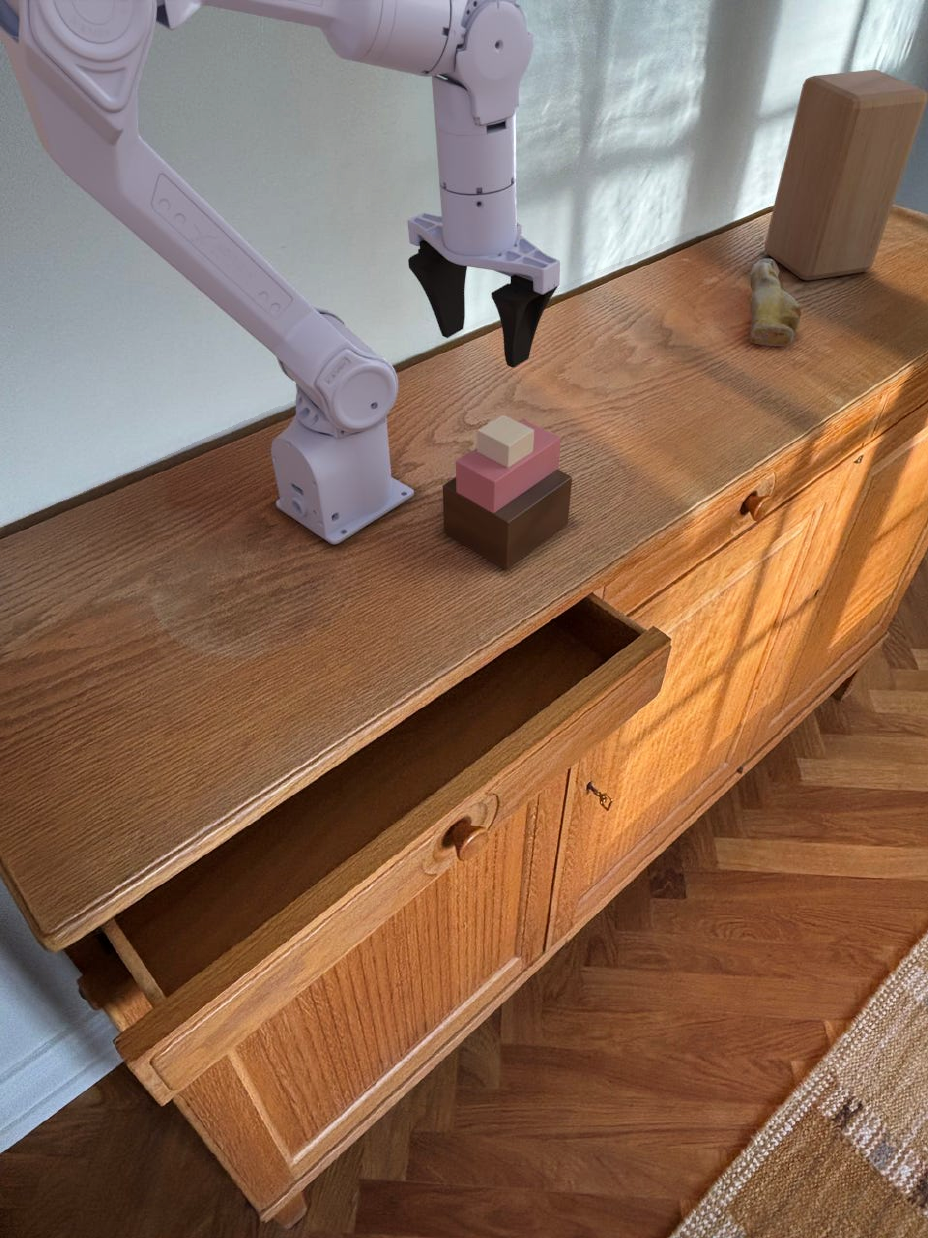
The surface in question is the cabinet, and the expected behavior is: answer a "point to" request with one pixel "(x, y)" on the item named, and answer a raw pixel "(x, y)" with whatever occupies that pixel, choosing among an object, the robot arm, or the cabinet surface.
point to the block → (842, 171)
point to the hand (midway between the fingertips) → (484, 346)
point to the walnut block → (509, 520)
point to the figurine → (771, 307)
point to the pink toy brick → (506, 462)
